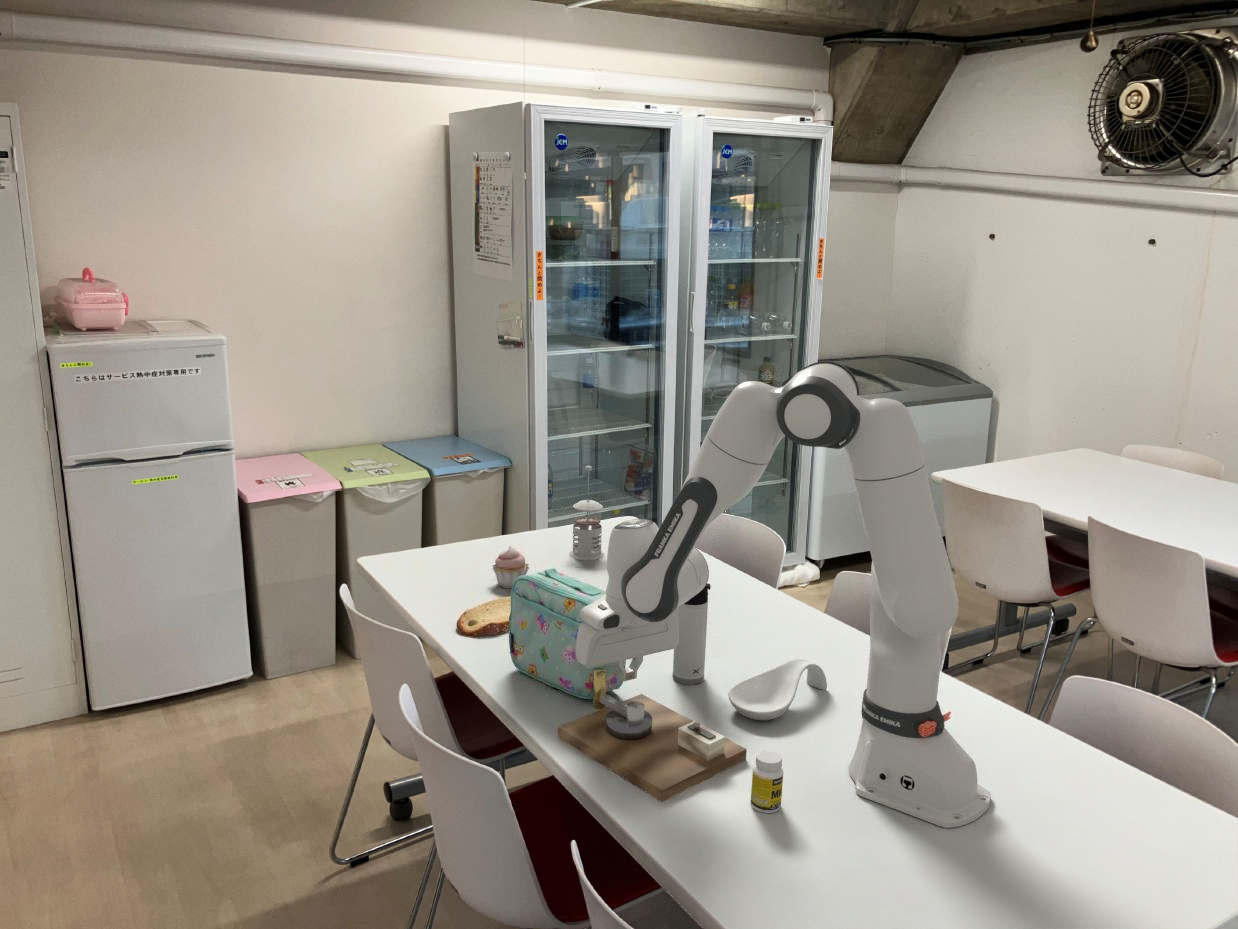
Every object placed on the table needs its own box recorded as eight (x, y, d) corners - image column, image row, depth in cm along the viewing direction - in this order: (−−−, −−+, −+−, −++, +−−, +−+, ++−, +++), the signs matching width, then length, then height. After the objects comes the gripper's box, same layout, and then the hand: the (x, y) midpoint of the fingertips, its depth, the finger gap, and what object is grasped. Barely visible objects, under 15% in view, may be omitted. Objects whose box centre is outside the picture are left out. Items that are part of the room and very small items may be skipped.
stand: (745, 759, 167) (748, 724, 166) (661, 801, 154) (663, 764, 153) (641, 703, 186) (642, 671, 185) (558, 737, 173) (558, 703, 172)
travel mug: (703, 686, 194) (708, 590, 189) (670, 683, 195) (674, 587, 190) (707, 673, 200) (712, 579, 195) (675, 669, 201) (679, 576, 196)
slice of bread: (525, 603, 235) (525, 589, 234) (541, 633, 218) (541, 617, 217) (449, 609, 230) (449, 594, 229) (459, 640, 213) (459, 624, 212)
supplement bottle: (773, 817, 151) (777, 768, 149) (745, 807, 154) (748, 758, 152) (785, 803, 155) (789, 754, 153) (758, 793, 157) (761, 745, 156)
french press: (565, 558, 267) (566, 468, 261) (574, 545, 278) (575, 459, 272) (601, 561, 265) (603, 471, 259) (608, 548, 276) (611, 461, 271)
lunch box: (498, 666, 200) (498, 566, 195) (536, 652, 208) (537, 555, 203) (592, 711, 183) (595, 603, 178) (630, 694, 190) (633, 589, 185)
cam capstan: (661, 730, 172) (663, 687, 170) (627, 744, 167) (628, 701, 165) (611, 702, 182) (612, 662, 180) (578, 715, 176) (578, 674, 174)
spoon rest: (764, 736, 176) (766, 699, 174) (714, 712, 184) (716, 676, 183) (841, 696, 192) (844, 662, 190) (792, 676, 200) (794, 643, 199)
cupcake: (509, 575, 253) (509, 538, 250) (536, 583, 247) (537, 545, 245) (483, 585, 245) (483, 546, 243) (511, 594, 240) (512, 554, 238)
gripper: (668, 592, 184) (664, 661, 187) (572, 611, 173) (570, 684, 176) (687, 603, 179) (684, 674, 182) (590, 624, 168) (588, 698, 171)
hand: (627, 679), depth 179 cm, fingers closed
